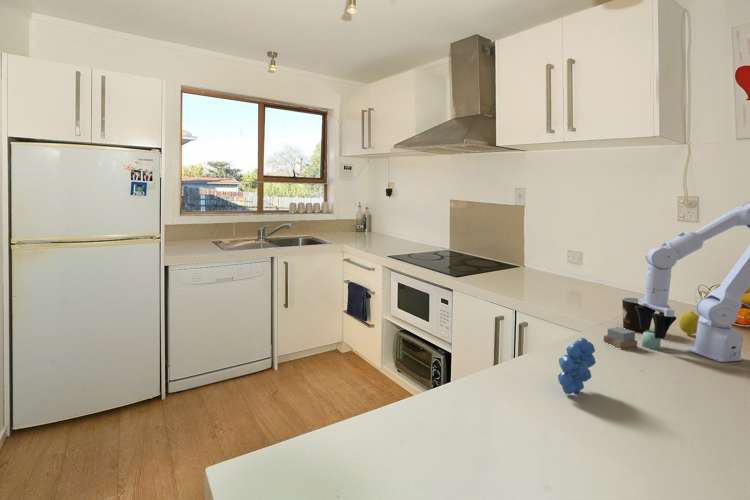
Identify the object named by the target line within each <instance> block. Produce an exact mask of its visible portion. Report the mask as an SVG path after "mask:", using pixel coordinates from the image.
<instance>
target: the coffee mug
mask: <svg viewBox="0 0 750 500" xmlns="http://www.w3.org/2000/svg"><path fill="white" fill-rule="evenodd" d="M638 298H639V297H638ZM638 298H636V297H623V298H622V301H621V302H622V328H625V329H628V330H631V331H634V332H635V333H638V332H640V334H643V332H647V330H641V329H640V323H639V318H638V314H637V312H636V310H635V308H634V307H635V306H639V305H640V304H638Z"/></svg>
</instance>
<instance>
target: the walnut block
mask: <svg viewBox="0 0 750 500" xmlns="http://www.w3.org/2000/svg"><path fill="white" fill-rule="evenodd" d="M603 341H604V342H606V343H608V344H607V345H609V344H611V345H613V346H615V347H614V348H616V347H617V348H616V349H618V348H630V349H637V347H638V340H636V339H635V340H632V341H627V342H621V341H618V340H615V339H612V338H609V337H607V334H606V335H603ZM604 342H603V343H604ZM606 343H605V344H606ZM611 345H610V346H611ZM613 346H612V347H613Z"/></svg>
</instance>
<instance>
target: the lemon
mask: <svg viewBox="0 0 750 500" xmlns="http://www.w3.org/2000/svg"><path fill="white" fill-rule="evenodd" d="M699 318H700V315H699V314H698V313H694V311H687V312H684V313H683V314H682V315H681V317H680V319H679V324H678V325H679V328H680V330H681V331H682V332H683V333H685V334H686V335H687V336H691V335H694V334H697V325H698V319H699Z"/></svg>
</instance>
